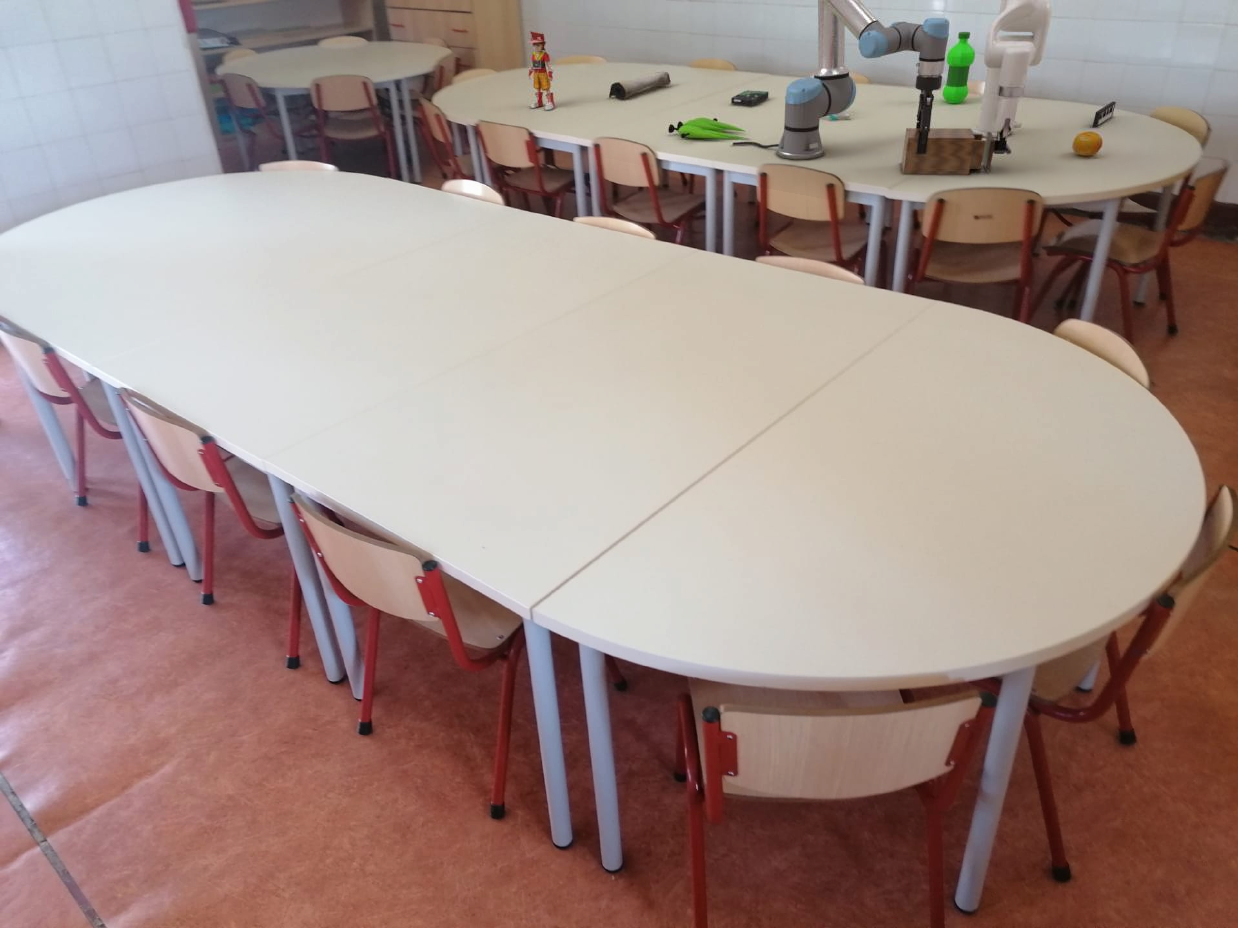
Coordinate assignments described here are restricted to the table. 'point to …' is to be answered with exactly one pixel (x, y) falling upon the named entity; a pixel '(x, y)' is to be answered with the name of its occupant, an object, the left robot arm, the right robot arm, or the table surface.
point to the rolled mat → (638, 84)
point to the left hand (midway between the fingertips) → (919, 148)
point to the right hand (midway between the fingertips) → (998, 153)
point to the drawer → (984, 151)
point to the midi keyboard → (1104, 113)
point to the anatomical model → (839, 116)
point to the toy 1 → (541, 71)
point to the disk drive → (749, 98)
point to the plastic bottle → (958, 69)
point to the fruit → (1087, 143)
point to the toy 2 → (704, 129)
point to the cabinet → (939, 151)
